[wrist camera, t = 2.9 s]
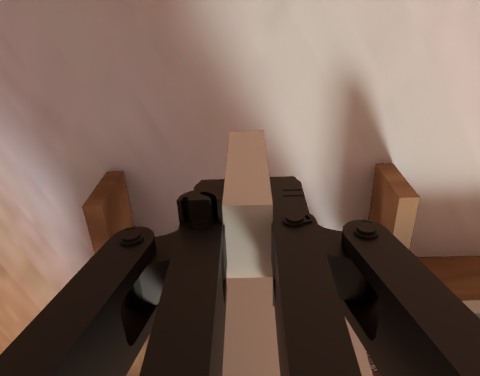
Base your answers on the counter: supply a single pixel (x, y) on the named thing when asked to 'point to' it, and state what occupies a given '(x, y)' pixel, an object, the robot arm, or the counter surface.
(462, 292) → the lane
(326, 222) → the counter surface
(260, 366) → the supplement box
